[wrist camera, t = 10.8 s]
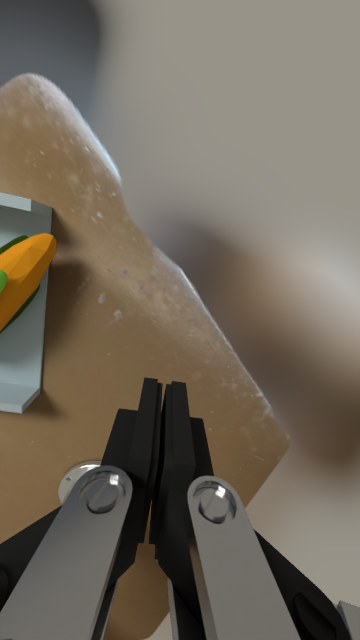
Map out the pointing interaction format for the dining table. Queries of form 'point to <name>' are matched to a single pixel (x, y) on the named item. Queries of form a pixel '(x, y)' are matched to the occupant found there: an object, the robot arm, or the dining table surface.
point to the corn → (22, 273)
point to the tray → (28, 329)
